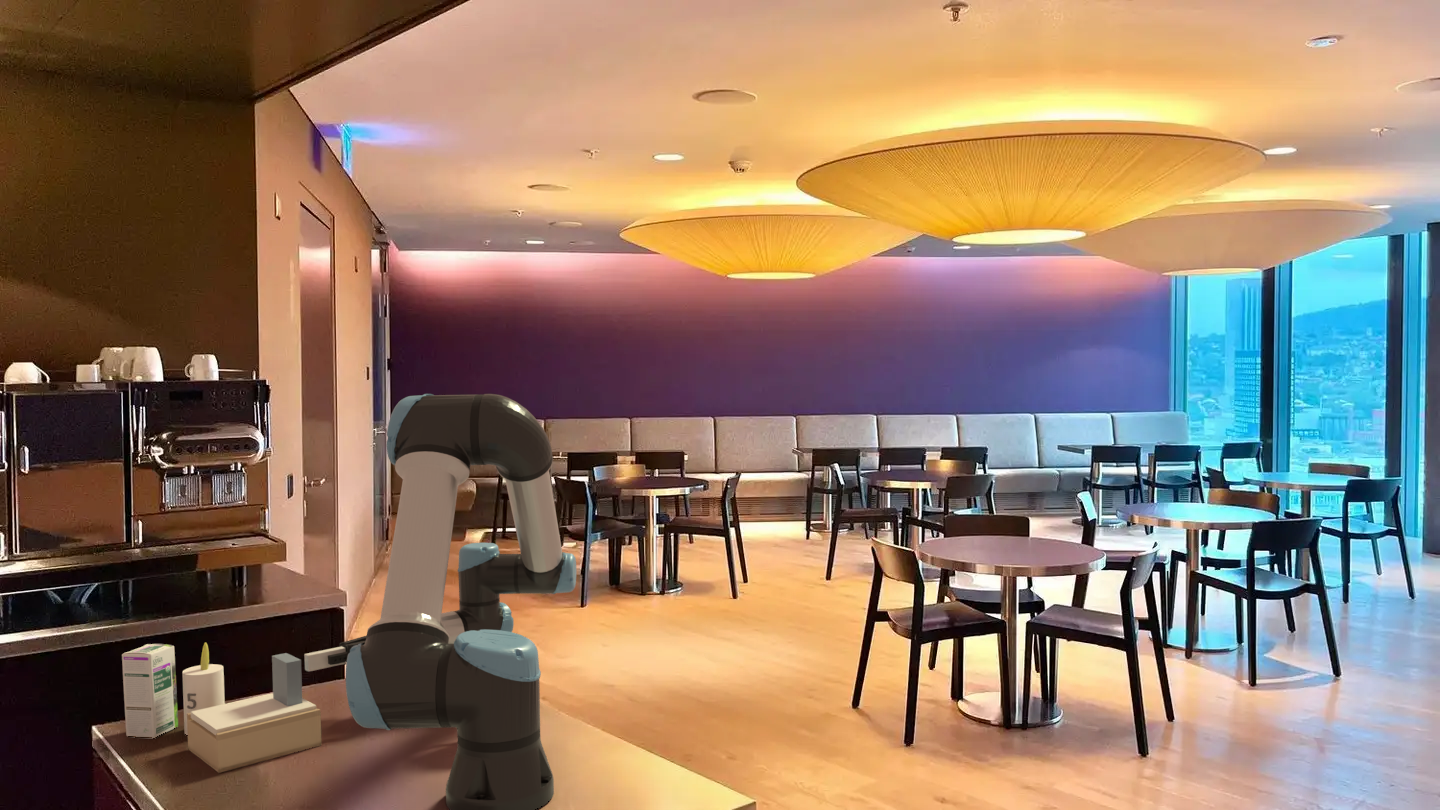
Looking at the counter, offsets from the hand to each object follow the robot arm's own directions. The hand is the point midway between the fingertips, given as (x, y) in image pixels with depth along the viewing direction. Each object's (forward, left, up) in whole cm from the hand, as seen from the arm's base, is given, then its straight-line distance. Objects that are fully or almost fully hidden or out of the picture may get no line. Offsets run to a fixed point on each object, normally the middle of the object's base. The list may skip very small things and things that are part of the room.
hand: (306, 662), depth 178 cm
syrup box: (+16, +22, -12) cm, 30 cm away
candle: (+12, +14, -12) cm, 22 cm away
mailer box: (-2, +9, -12) cm, 15 cm away
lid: (-2, +9, -7) cm, 11 cm away
